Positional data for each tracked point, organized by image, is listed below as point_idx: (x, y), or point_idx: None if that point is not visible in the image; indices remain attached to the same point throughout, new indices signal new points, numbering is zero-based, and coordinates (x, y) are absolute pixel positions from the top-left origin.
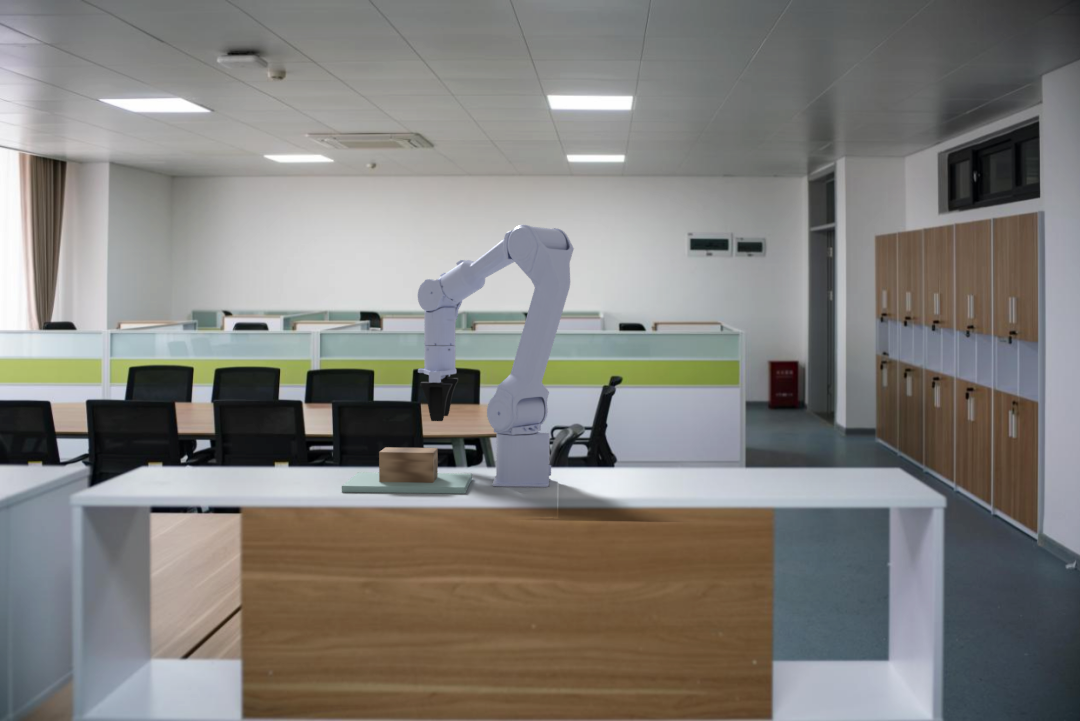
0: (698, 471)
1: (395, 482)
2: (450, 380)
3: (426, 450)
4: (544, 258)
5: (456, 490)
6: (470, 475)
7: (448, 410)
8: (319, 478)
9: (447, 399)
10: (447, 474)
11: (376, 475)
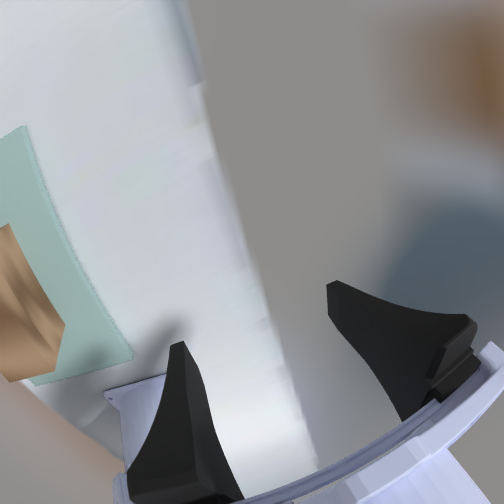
0: (295, 453)
1: None
2: (411, 413)
3: (15, 364)
4: None
5: None
6: (115, 364)
7: (338, 329)
8: (15, 39)
9: (366, 351)
10: (98, 329)
11: (5, 197)
